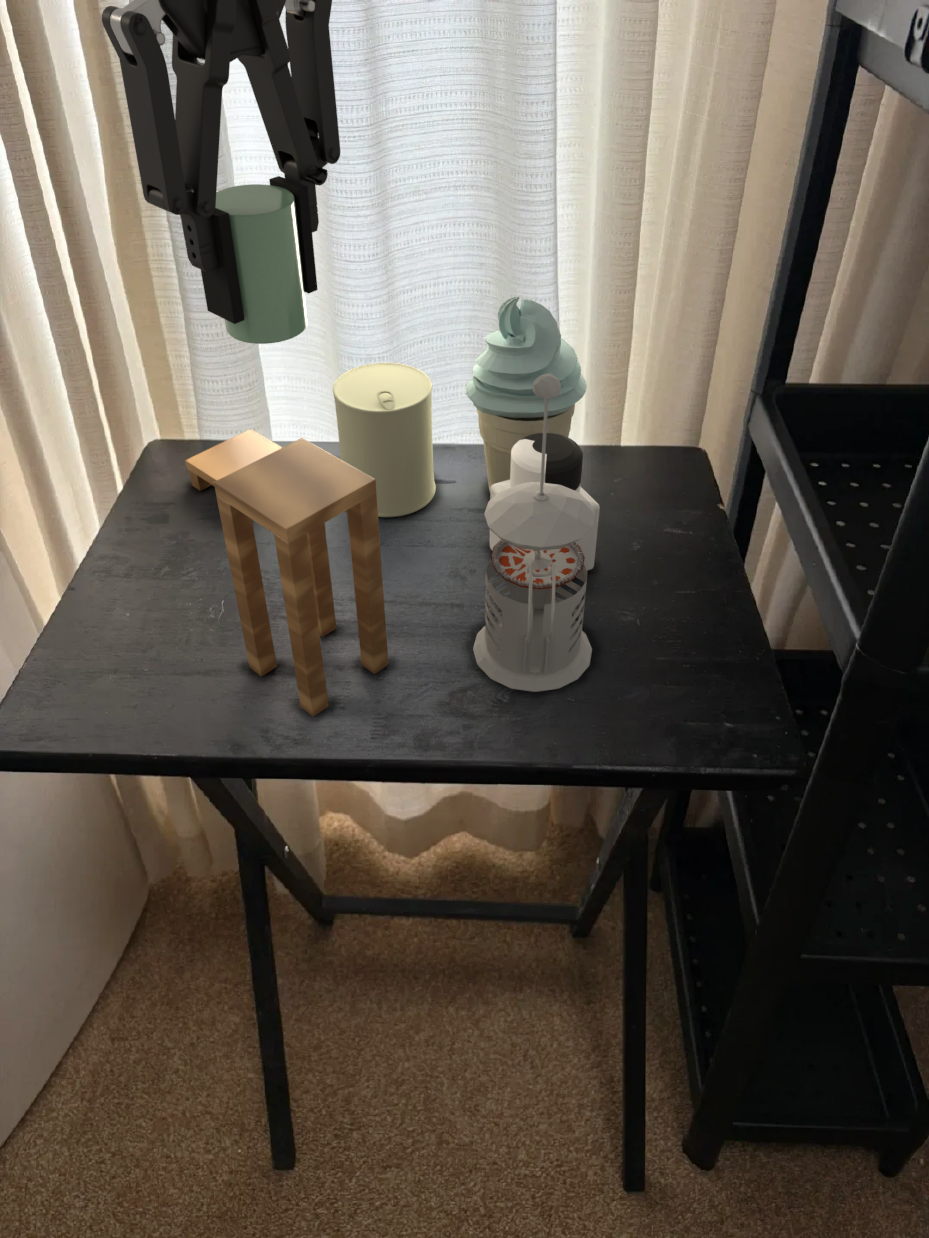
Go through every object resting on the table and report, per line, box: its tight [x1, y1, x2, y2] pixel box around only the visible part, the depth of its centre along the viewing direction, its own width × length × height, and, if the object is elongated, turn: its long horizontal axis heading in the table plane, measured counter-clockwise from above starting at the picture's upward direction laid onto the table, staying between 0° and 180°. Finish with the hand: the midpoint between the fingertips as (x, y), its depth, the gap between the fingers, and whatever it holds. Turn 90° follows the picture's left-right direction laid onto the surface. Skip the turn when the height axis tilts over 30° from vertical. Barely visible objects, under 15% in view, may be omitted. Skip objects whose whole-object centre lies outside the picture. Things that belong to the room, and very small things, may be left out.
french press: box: [472, 373, 595, 693], centre depth 77 cm, size 10×12×25 cm
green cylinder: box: [215, 183, 309, 345], centre depth 65 cm, size 5×5×8 cm
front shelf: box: [213, 437, 389, 717], centre depth 79 cm, size 8×8×18 cm
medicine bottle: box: [489, 433, 601, 572], centre depth 91 cm, size 7×7×12 cm
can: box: [332, 362, 437, 518], centre depth 99 cm, size 9×9×12 cm
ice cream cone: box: [465, 296, 588, 492], centre depth 97 cm, size 10×11×20 cm
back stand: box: [184, 428, 283, 492], centre depth 103 cm, size 8×8×3 cm
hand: (263, 299), depth 66 cm, fingers closed on green cylinder, 5 cm apart
